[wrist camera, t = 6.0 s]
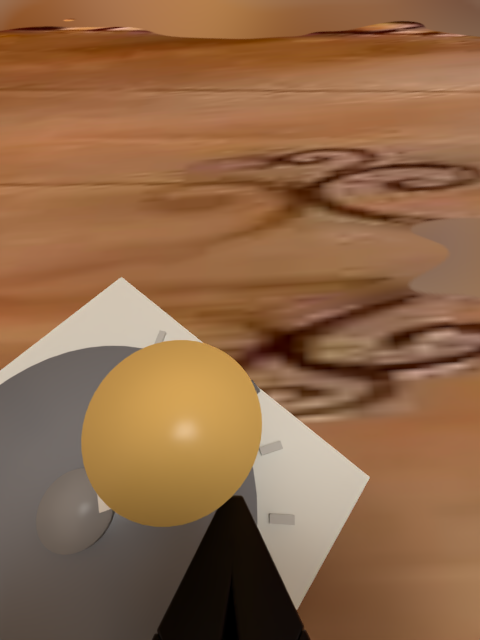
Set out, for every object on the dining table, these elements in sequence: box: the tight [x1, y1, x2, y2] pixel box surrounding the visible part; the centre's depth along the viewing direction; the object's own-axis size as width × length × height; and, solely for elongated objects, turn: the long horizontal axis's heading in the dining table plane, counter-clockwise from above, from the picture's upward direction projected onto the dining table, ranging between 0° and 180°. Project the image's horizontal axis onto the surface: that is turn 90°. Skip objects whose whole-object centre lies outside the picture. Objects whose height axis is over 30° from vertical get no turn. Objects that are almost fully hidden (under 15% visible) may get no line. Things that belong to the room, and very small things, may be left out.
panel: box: [0, 277, 370, 610], centre depth 15 cm, size 20×20×1 cm
